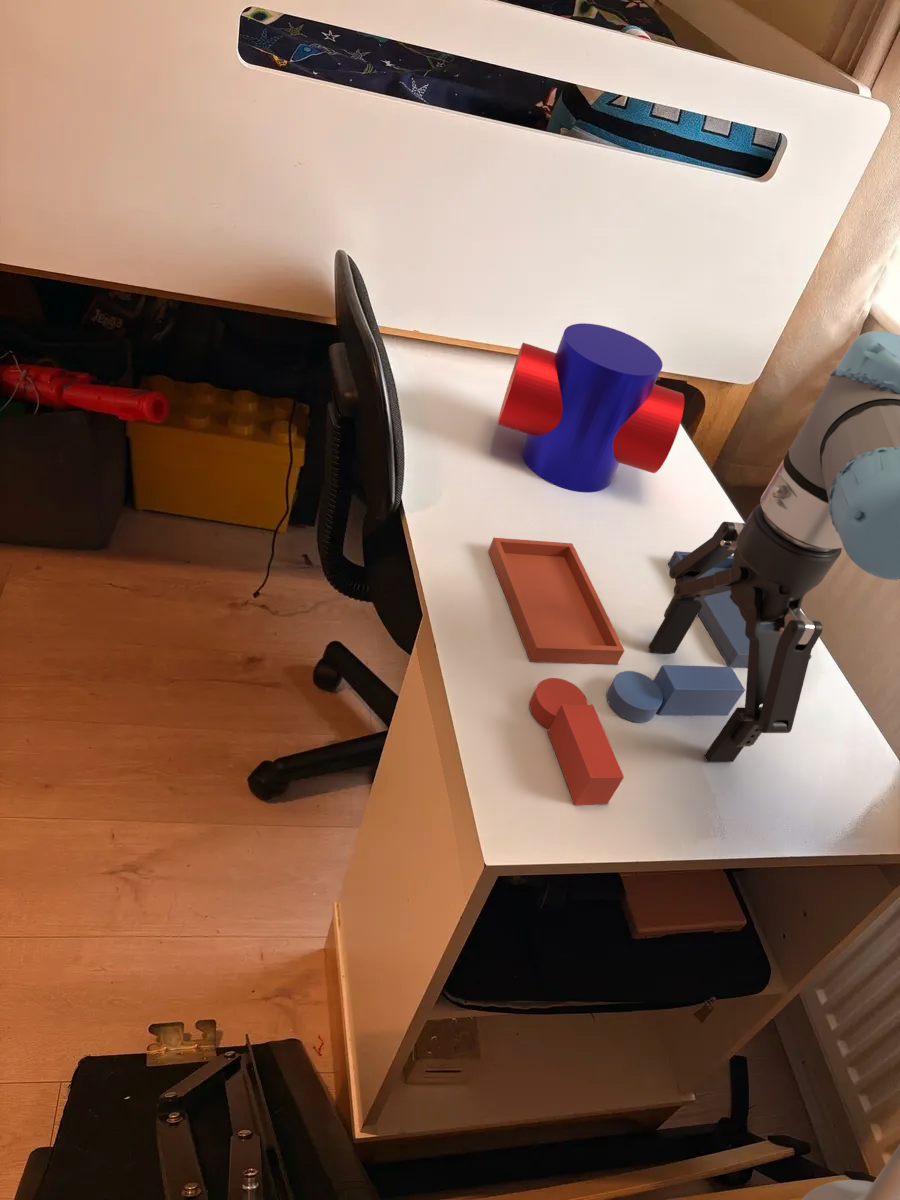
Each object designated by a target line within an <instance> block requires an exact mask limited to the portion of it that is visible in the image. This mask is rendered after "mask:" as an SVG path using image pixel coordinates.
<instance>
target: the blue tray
mask: <svg viewBox="0 0 900 1200" xmlns="http://www.w3.org/2000/svg"><path fill="white" fill-rule="evenodd" d="M691 552H692V551H678V550H675V551H674V552H673V553H672V555H671V557H670V559H669V561H668V562H667V565H668V566H669V569H670V568H671V567H672V566H673V565H675V564H676V563H678V562H679V561H680V560H682V559H683V558H684V557H686V556H687V555H688V554H690V553H691ZM733 556H734V554H732V555H731V556H729V557H728V558H726V559H725V560H723V561H722V562H720V563H719V564H717V565H716V566H714V567H713V568H711V569H710V570H709V571H707V572H706V573H704V574H703V575H701V576H700V577H698V578H702V577H706V576H710V575H714V573H716V572H719V571H723V570H727V569H730V568H732V565H733ZM698 578H697V579H698ZM730 595H731V591H726V592H721V593H717V594H712V595H708V596H704V597H706V598H699V597H695V599H694V600H699V601H700V602H701V604H702V608H701V609H700V611H699V613H698V614H697V616H698V617H699V619H700V621H701V622H702V624H703V626H704V627H705V629H706V631H707V632H708V634H709V635H710V637H711V639H712V641H713V642H714V644H715V646H716V647H717V649H718V651H719V652H720V654H721V656H722V658H723V659H724V661H725V662H726V664H727V667H732V668H747V669H748V657H749V642H750V641H749V639H748V638H747V637H746V635H745V628H746V621H745V620H744V619H743V617H742V616H741V613H740V610H739V608H738V606H737V605H736V604H734V603H733V601H732V600H731V598H730V597H729V596H730ZM774 626H775V623H771V624H760V629H761V630H773V629H774ZM812 656H813V655H812V654H811V655H810V659H809V661H810V660H811V659H812Z"/></svg>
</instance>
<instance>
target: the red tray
mask: <svg viewBox="0 0 900 1200" xmlns="http://www.w3.org/2000/svg"><path fill="white" fill-rule="evenodd" d="M488 554H489V557H490V559H491V562H492V565H493V567H494V570H495V572H496V575H497V577H498V580H499V583H500V586H501V588H502V591H503V593H504V596H505V598H506V599H505V600H506V601H507V604H508V606H509V609H510V612H511V614H512V618H513V620H514V622H515V626H516V628H517V630H518V633H519V636H520V638H521V640H522V643H523V647H524V648H525V652H526V654H527V657H528V659H529V661H530V663H555V664H556V663H557V664H558V663H559V664H560V663H561V664H595V665H597V664H598V665H599V664H600V665H618V664H619V662H620V660H621V658H622V656H623V655H624V653H625V648H624V647H623V645H622V642H621V640H620V638H619V635H618V634H617V632H616V630H615V627H614V626H613V623H612V622H611V619H610V618H609V616H608V613H607V611H606V609H605V607H604V605H603V603H602V601H601V599H600V597H599V595H598V593H597V592H596V589H595V587H594V585H593V583H592V581H591V579H590V577H589V574H588V573H587V571H586V569H585V566H584V565H583V562H582V561H581V558H580V556H579V555H578V551H577V550H576V549H575V546H574V544H573V543H572V542H558V541H547V540H546V541H545V540H533V539H532V540H530V539H519V538H518V539H517V538H505V537H493V538H492V540H491V542H490V546H489V548H488Z"/></svg>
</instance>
